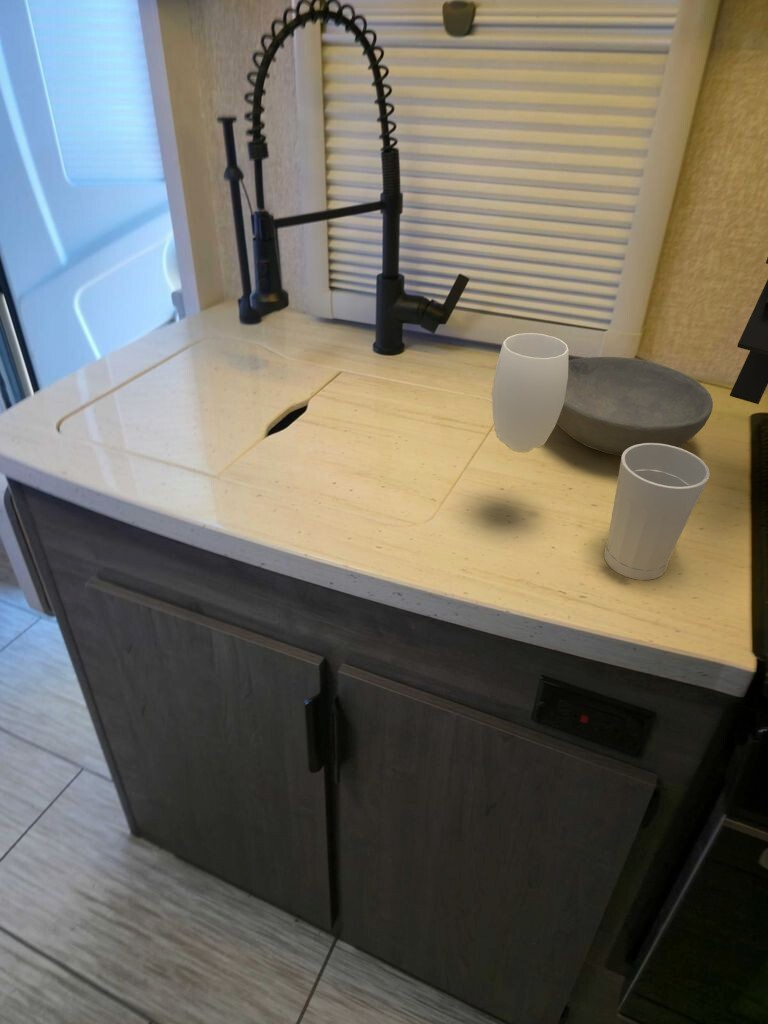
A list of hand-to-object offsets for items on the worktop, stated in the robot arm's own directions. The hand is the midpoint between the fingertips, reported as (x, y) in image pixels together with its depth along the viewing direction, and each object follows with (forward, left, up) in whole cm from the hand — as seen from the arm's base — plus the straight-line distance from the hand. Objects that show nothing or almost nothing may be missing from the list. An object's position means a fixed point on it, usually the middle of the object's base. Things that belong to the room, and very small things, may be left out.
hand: (748, 377), depth 59 cm
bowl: (+20, -13, -21) cm, 31 cm away
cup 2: (+2, +5, -21) cm, 21 cm away
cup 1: (+15, +11, -21) cm, 28 cm away
